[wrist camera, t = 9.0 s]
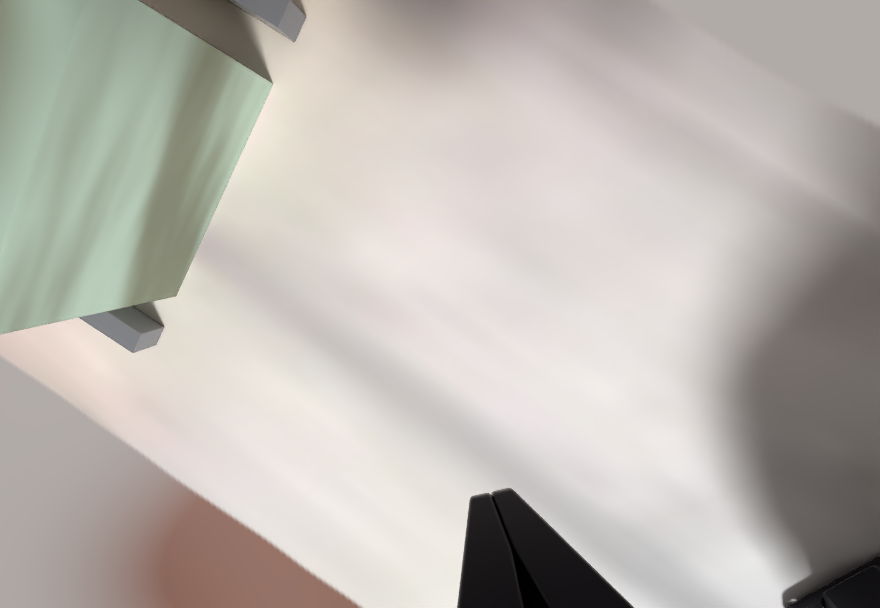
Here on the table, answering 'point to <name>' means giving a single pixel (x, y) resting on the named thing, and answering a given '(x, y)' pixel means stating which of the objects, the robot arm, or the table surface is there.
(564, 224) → the table surface
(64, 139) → the T-block
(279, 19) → the frame
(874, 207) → the table surface
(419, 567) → the table surface
